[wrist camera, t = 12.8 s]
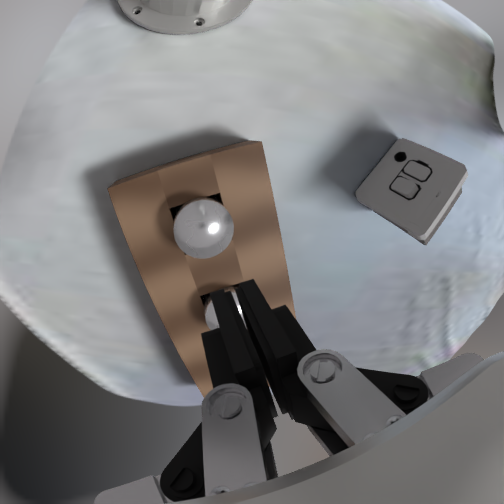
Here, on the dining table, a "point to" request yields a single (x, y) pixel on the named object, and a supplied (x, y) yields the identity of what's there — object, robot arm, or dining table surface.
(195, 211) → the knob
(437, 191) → the electrical switch
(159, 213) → the knob mount
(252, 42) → the dining table surface
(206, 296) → the knob mid
